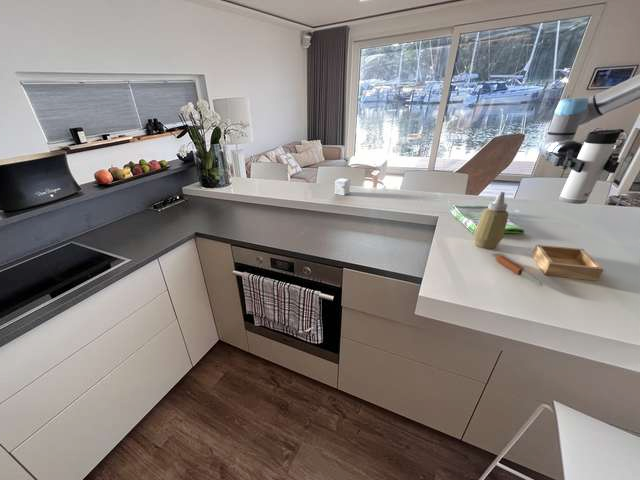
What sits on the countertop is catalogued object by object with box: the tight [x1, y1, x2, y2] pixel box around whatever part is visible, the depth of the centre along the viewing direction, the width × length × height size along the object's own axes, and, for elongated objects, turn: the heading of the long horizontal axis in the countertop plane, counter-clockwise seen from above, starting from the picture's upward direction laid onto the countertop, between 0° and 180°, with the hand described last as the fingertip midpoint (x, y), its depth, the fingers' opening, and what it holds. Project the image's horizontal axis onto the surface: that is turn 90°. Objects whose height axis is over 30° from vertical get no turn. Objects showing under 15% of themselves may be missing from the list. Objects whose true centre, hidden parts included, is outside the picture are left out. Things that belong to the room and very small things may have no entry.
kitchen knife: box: [495, 255, 543, 287], centre depth 80 cm, size 16×1×2 cm, turn 4°
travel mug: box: [558, 128, 625, 205], centre depth 83 cm, size 6×7×20 cm
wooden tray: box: [531, 244, 605, 282], centre depth 81 cm, size 12×11×4 cm
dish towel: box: [449, 204, 525, 235], centre depth 111 cm, size 17×23×4 cm
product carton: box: [334, 177, 351, 196], centre depth 155 cm, size 6×6×7 cm
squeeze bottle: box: [473, 191, 509, 250], centre depth 91 cm, size 8×8×18 cm
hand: (597, 167), depth 78 cm, fingers closed on travel mug, 6 cm apart
